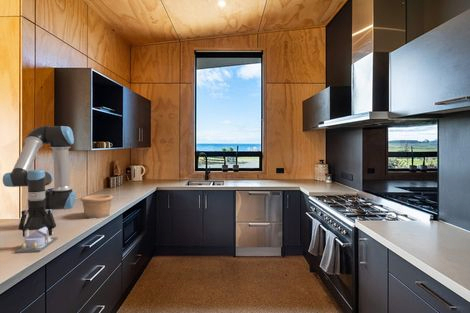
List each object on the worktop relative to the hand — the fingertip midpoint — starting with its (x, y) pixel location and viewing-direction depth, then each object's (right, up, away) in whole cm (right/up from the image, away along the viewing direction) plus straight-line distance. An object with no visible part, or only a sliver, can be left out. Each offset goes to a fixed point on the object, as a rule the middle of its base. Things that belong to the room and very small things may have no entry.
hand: (37, 242), depth 159 cm
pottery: (+1, 0, +68) cm, 68 cm away
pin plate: (0, -2, 0) cm, 2 cm away
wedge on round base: (0, 0, 0) cm, 0 cm away
